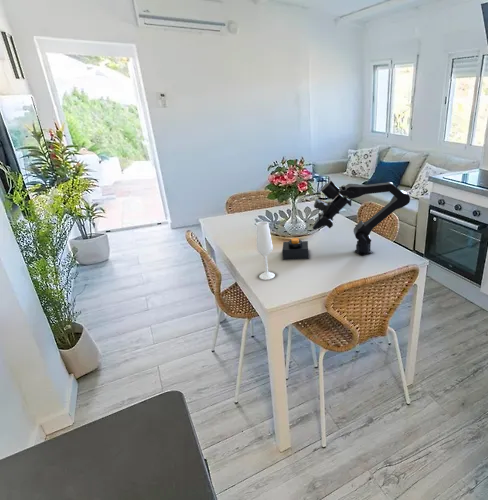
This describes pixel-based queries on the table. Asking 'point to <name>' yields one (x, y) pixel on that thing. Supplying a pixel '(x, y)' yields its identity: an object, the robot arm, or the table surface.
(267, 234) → the champagne flute
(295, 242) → the switch button
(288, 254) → the switch box
